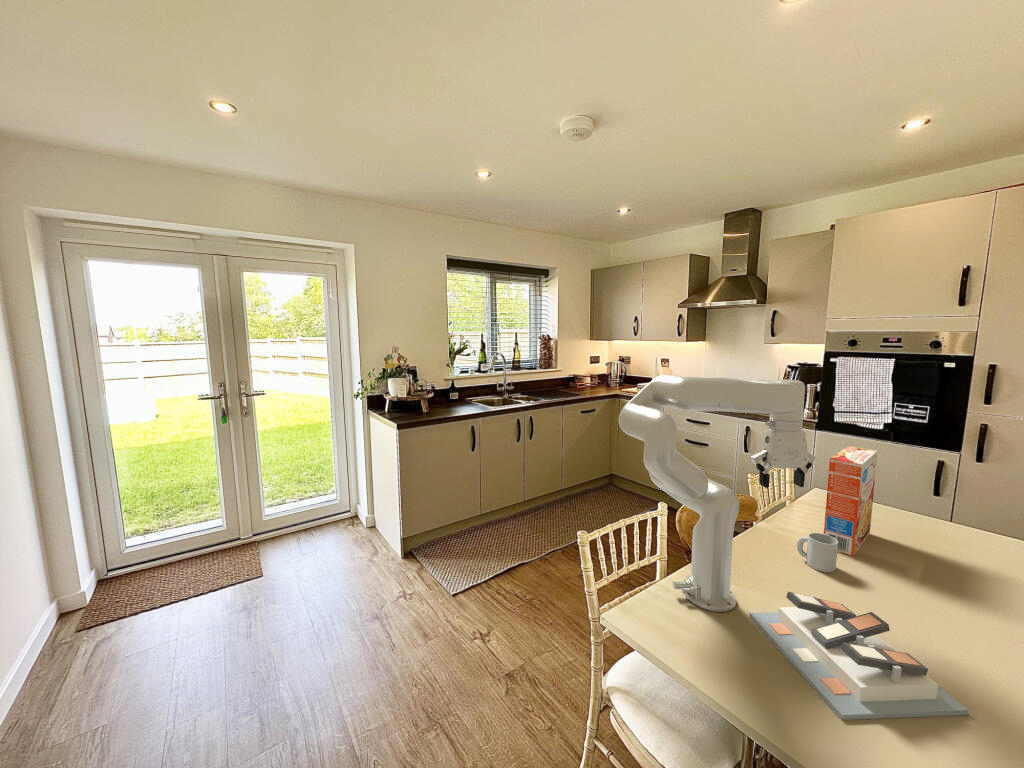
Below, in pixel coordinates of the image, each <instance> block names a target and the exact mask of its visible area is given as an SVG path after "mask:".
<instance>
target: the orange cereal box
mask: <svg viewBox="0 0 1024 768" xmlns="http://www.w3.org/2000/svg"><path fill="white" fill-rule="evenodd" d="M877 463H878V450H876V449H869V448H864V447H863V448H862V447H856V446H850V445H847V446H846V447H844V448H843V449H842V450H840V451H839V452H837V453H836V454H834V455H833V456H832V457H830V458H829V464H828V476H827V477H828V478H827V489H826V502H825V514H824V515H825V516H824V524H823V525H824V526H823V527H824V528H823V534H826V535H829V536H831V537H833V538H835V539H836V540H837V541H838V549H837V551H839V552H838V553H840V554H844V555H848V556H850V555H851V556H850V557H853V556H854V557H855V556H856V554H857V553H856V552H858V551H859V550H860V548H861V547H862V546H863V544H864V543H865V541H866V540H867V539H868V537H869V536H870V534H871V526H872V525H871V523H872V513H873V503H874V502H873V501H874V492H875V483H876V471H877ZM869 533H870V534H869ZM868 535H869V536H868ZM867 536H868V537H867ZM866 538H867V539H866ZM865 539H866V540H865ZM864 540H865V541H864ZM863 542H864V543H863ZM862 543H863V544H862ZM861 545H862V546H861ZM860 546H861V547H860ZM858 549H859V550H858Z"/></svg>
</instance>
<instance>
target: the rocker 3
mask: <svg viewBox="0 0 1024 768" xmlns="http://www.w3.org/2000/svg"><path fill="white" fill-rule="evenodd" d="M841 650H842V651H843V652H845V653H846V654H847V655H848V656H849V657H850V658H851V659H852V660H853V661H854V662H855V663H857V664H858V665H862V666H868V667H874V668H880V669H886V670H892V667H893V666H900V667H901V668H902V671H901V672H904V673H910V674H916V675H922V676H926V675H927V674H928V671H929V669H928V668H927V667H926V666H925V665H924V664H923V663H921V662H920V661H919V660H917V659H916V658H915V657H913V656H912V655H911V654H909V653H907V652H901V651H896V650H895V651H891V650H885V649H879V648H874V647H868V646H862V645H856V644H850V643H844V642H843V644H842V647H841ZM927 676H928V675H927Z"/></svg>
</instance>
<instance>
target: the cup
mask: <svg viewBox="0 0 1024 768" xmlns="http://www.w3.org/2000/svg"><path fill="white" fill-rule="evenodd" d="M804 543H807V548H806V551H804ZM837 549H838V541H837V540H836V539H835V538H833V537H831V536H829V535H826V534H824V533H821V532H810V533H808V535H807V536H801V537H799V538H798V539H797V541H796V550H797V552H798V554H799V555H800V556H802V558H805V559H806V560H805V562H806V564H807V566H808V567H809V568H811V567H812V568H811V569H813V570H815V569H816V570H815V571H818V572H821V571H822V573H827V572H831V573H834V572H835V571H836V569H837V560H838V552H837Z"/></svg>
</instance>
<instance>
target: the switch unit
mask: <svg viewBox="0 0 1024 768" xmlns="http://www.w3.org/2000/svg"><path fill="white" fill-rule="evenodd" d="M809 596H810V597H814V598H816V596H815V595H809ZM833 613H834V612H833V611H832V610H826V614H821V613H817V612H813V611H808V610H804V609H800V608H797V607H796V606H789V607H787V606H785V607H784V606H783V607H778V611H771V612H769V611H767V612H749V614H748V615H749V619H750V620H752V622H754V624H755V625H756V626H757V627H758V628H759V629H760V630H761V631H762V632H763V634H764V635H765V636H766V637H767V638H768V639H769V640H770V641H771V643H772V644H773V645H774V646H775V647H776V649H778V650H779V651H780V653H781V654H782V655H783V656H784V657H785V659H787V661H789V663H790V664H791V666H793V667H794V669H795V670H796V671H797V672H798V673H799V674H800V675H801V676H802V677H803V678H804V679H805V681H806V682H807V683H808V684H809V685H810V686H811V687H812V688H813V690H814V691H815V692H816V693H817V695H819V696H820V698H821V699H822V700H823V701H824V702H825V703H826V704H827V705H828V706H829V708H831V710H832V711H833V712H834V713H835V715H836V716H837V717H839V719H840V720H841V721H848V720H849V721H850V720H851V721H852V720H872V719H873V720H874V719H875V720H876V719H896V718H897V719H899V718H902V719H903V718H919V717H920V718H921V717H922V718H923V717H941V716H942V717H948V716H949V717H951V716H969V712H970V709H968V708H967V707H966V706H964V705H963V704H962V703H961V702H960V701H958V700H957V699H956V698H954V697H953V696H952V695H951V694H949V693H948V691H946V690H945V689H943V688H942V687H940V685H939V684H938V683H936V681H934V680H933V679H932V678H931V677H929V676H928V675H926V676H922V675H916V674H910V673H904V672H901V671H902V668H901V667H900V666H893V667H892V670H886V669H880V668H874V667H868V666H862V665H858V664H857V663H855V662H854V661H853V660H852V659H851V658H850V657H849V656H848V655H847V654H846V653H845V652H843V651H842V650H841V647H842V645H839V646H835V647H832V648H828V649H825V648H824V647H823V646H822V645H821V644H820V643H819V642H818V641H817V640H816V639H815V638H814V637H813V636H812V634H811V629H814V628H818V627H821V626H824V625H828V624H831V623H835V622H838V621H842V620H845V619H843V618H839V617H835V616H833ZM849 643H850V644H856V645H862V646H868V647H874V648H879V649H885V650H891V651H896V650H895V649H894V648H893V647H891V646H890V645H889V644H888V643H887V642H885V641H884V640H883V639H882V638H881V637H879V636H878V635H873V636H870V637H866V638H864V637H863V636H862V635H861V636H856V641H853V642H849Z"/></svg>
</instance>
